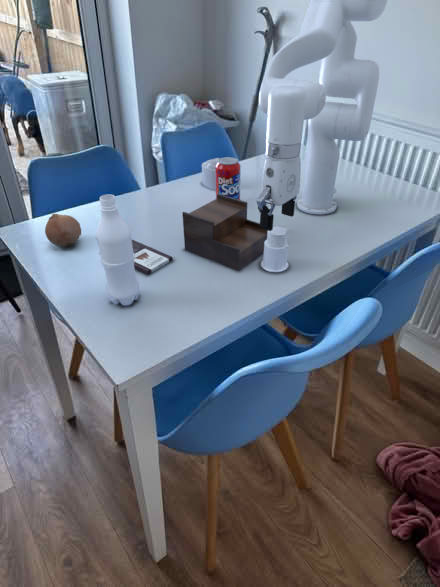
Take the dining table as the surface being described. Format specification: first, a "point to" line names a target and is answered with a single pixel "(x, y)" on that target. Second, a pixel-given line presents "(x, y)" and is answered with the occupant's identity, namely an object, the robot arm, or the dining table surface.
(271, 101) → the robot arm
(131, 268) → the water bottle
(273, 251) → the downlight
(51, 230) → the brown coconut
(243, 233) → the spice shelf
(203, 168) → the lumpy-topped squat cylinder
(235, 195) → the soda can
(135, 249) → the chocolate bar
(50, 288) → the dining table surface
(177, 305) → the dining table surface
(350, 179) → the dining table surface
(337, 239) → the dining table surface
